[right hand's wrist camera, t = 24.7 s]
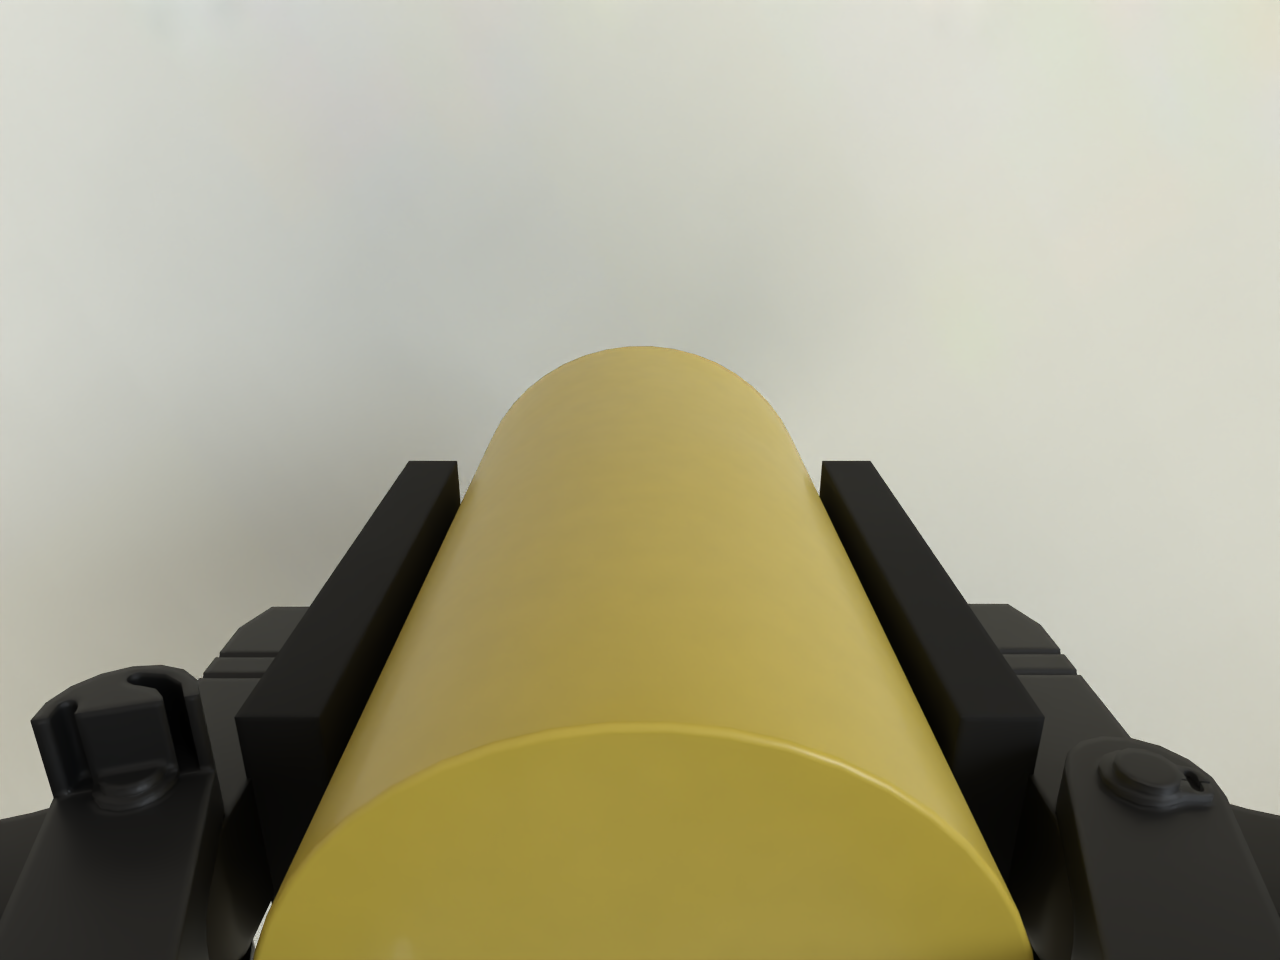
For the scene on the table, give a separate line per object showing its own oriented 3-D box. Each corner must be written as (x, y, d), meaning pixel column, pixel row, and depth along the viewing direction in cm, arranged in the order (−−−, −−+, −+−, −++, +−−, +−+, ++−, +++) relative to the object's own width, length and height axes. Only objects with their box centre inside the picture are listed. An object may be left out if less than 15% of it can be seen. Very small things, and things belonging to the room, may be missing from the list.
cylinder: (462, 615, 17) (236, 1242, 7) (502, 315, 15) (258, 658, 5) (760, 664, 17) (905, 1318, 8) (840, 379, 15) (1171, 803, 6)
